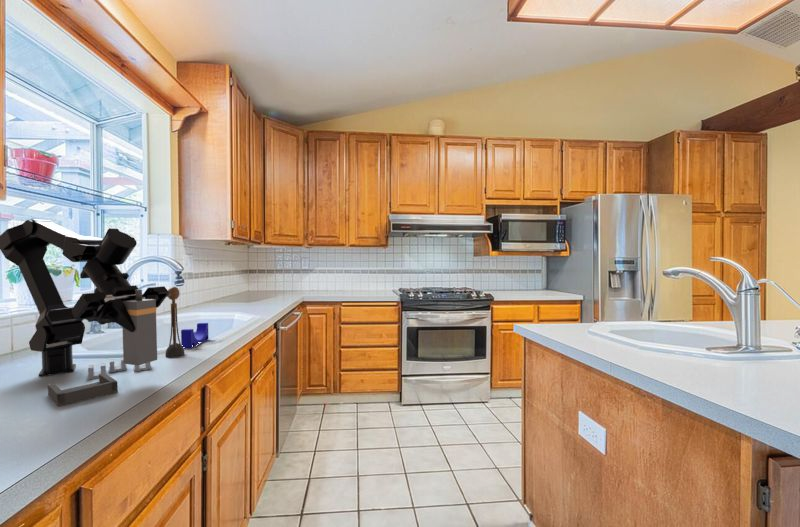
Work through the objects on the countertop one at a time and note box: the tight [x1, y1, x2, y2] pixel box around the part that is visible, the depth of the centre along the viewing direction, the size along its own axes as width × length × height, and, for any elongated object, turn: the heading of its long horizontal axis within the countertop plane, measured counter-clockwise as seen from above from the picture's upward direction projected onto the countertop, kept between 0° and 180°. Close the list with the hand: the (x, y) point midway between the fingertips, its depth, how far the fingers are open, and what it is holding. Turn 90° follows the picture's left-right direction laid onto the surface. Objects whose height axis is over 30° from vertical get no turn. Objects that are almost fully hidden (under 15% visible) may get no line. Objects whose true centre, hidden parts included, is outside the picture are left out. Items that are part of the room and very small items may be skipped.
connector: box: [121, 288, 158, 366], centre depth 85 cm, size 5×5×16 cm
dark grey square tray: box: [47, 373, 119, 407], centre depth 79 cm, size 10×10×2 cm
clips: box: [86, 357, 152, 380], centre depth 95 cm, size 7×13×3 cm, turn 128°
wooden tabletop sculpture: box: [165, 286, 185, 359], centre depth 108 cm, size 6×5×20 cm
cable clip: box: [180, 322, 209, 350], centre depth 123 cm, size 12×4×6 cm, turn 4°
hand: (144, 328), depth 84 cm, fingers closed on connector, 4 cm apart
